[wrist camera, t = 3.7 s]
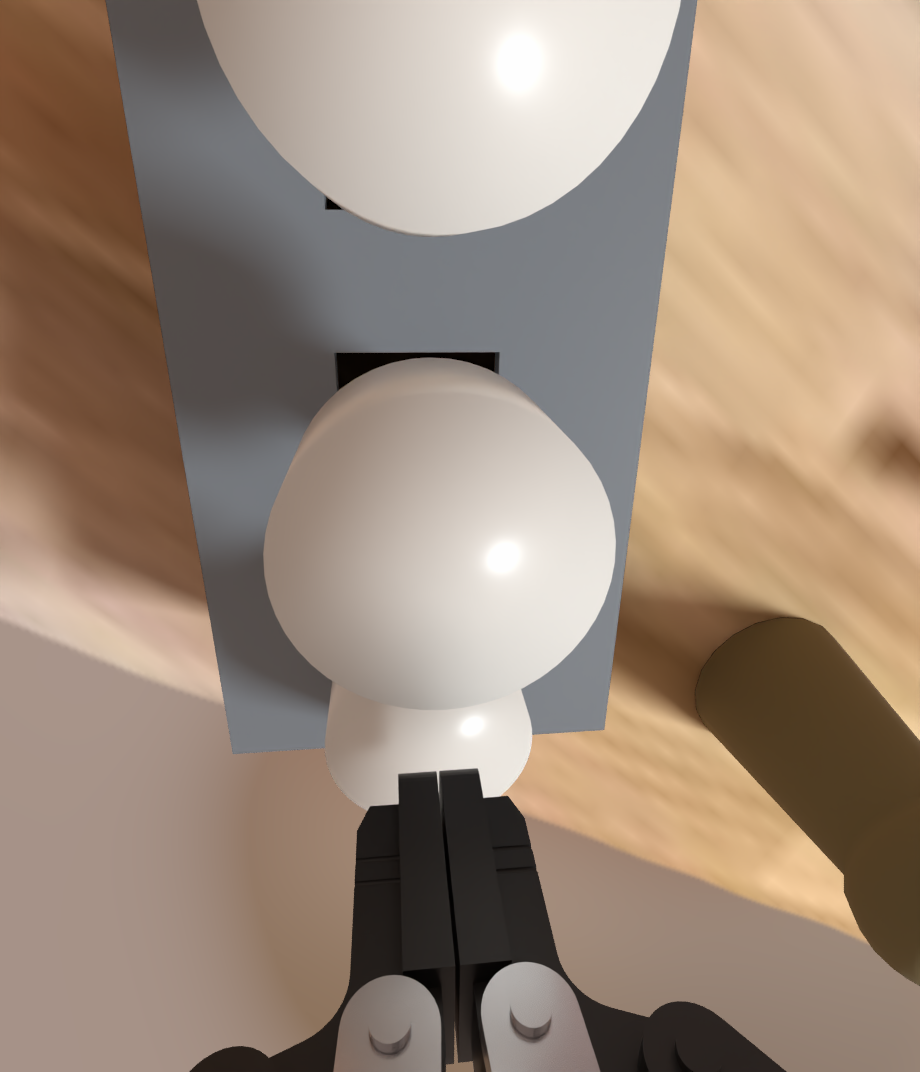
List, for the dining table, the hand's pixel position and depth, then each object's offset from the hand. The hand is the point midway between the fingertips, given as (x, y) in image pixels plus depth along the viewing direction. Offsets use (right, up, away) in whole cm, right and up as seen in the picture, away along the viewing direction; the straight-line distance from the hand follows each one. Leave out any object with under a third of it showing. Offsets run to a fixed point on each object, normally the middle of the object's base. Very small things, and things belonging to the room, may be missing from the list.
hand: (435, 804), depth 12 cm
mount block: (-1, +10, +7) cm, 12 cm away
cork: (+13, -1, +14) cm, 19 cm away
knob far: (-1, +4, +9) cm, 10 cm away
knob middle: (-1, +8, +4) cm, 9 cm away
